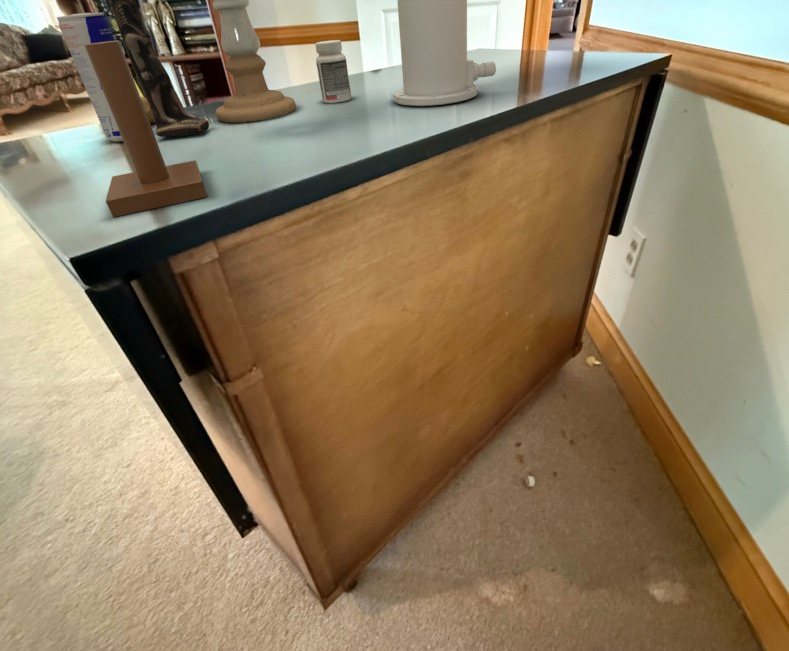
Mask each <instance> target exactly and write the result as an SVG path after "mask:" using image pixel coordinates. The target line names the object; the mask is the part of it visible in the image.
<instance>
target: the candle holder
mask: <svg viewBox="0 0 789 651" xmlns="http://www.w3.org/2000/svg"><path fill="white" fill-rule="evenodd" d="M249 5H250V0H213V2H212V8H213V9H214V10H216V11H217V12H218V14H219V20H220V46H221V50H222V51H223V52H224V53H225V54H226V55H227V56H229V58H228V60H227V63H226V64H225V69H226V71H228V73H229V74H230V75H231V76H232V77H233V84H234V89H235V90H234V91H235V94H233V95H230V96H228V97H226V98H225V99H224V101H223V105H221V106H219V107H217V109H216V110H215V116H216V118H217V120H218V121H220V122H223V123H234V124H236V123H251V122H258V121H263V120H264V121H265V120H269V119H274V118H278V117H282V116H285V115H288V114H290V113H292V112H294V111H295V110H296V108H297V106H296V105H297V104H296V101H295V99H294V98H292V97H290V96H285V95H284V93H283V91H281V90H276V89H269V87H268V84H267V82H266V79H265V75H264V70H265V67H266V60H265V59H263V58H262V56H260V55H259V54H258V51H259V50H260V46H261V41H260V39H259V36H258V35H257V33H256V31H255V29H254V26H253V24H252V22H251V19H250V16H249V14H248V10H247V8H248V7H249Z"/></svg>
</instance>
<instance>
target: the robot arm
mask: <svg viewBox="0 0 789 651" xmlns="http://www.w3.org/2000/svg"><path fill="white" fill-rule="evenodd" d="M396 1H397V14H398V15H397V16H398V29H399V43H400V58H401V59H400V60H401V72H402V86H403V87H402V88H400V89H398V90H396V91H395V92H394V93H393V100H394V101H393V102H395V104H399V105H402V106H410V107H431V106H442V105H450V104H451V105H452V104H456V103H461V102H464V101H468V100H471V99H474V98H475V97H476V96H477V95H478V86H477V84H475V83H474V82H476V81H477V80H478V78H488V77H493V76H495V75H496V71H497V65H496V63H495V61H488V62H482V63H476V62H474V60H473V59H472V60H471V59H468V0H396Z"/></svg>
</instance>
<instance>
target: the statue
mask: <svg viewBox="0 0 789 651" xmlns="http://www.w3.org/2000/svg"><path fill="white" fill-rule="evenodd" d="M108 1H109V2H108V3H109V5H110V8H111V11H112V13H113V15H114V19H115V23H116V25H117V28H118V31H119V34H120V37H121V41H122V43H123V46H124V48H125V51H126V53H127V55H128V58H129V62H130V63H131V66H132V68H133V70H134V73H135V75H136V78H137V80H138V82H139V85H140V88H141V90H142V93H143V95H144V98H146V99H147V101H148V104H149V106H150V110H151V113H152V116H153V118H154V120H155V123H154V124H155V126H156V129H155V134H156V136H158V137H162V138H168V137H182V136H190V135H195V134H196V135H197V134H201V133H204V132H206V131H207V130H209V128H210V122H209V120H208V119H206V118H199V117H198V116H196V115H194V114H191V113H189V112H188V111H187V110H186V108H185V107H184V105H183V103H182V101H181V99H180V97H179V95H178V93H177V91H176V89H175V87H174V85H173V82H172V80H171V78H170V75H169V73H168V72H167V70H166V68H165V67H164V65H163V64H162V62H161V60H160V58H159V57H158V56H157V53H156V51H155V49H154V46H153V41H152V40H153V39H152V36H151V34H150V32H149V31H148V29H147V27H146V26H145V24H144V22H143V21H142V19H141V16H140V13H139V10H138V8H137V4H136V1H135V0H108Z"/></svg>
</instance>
